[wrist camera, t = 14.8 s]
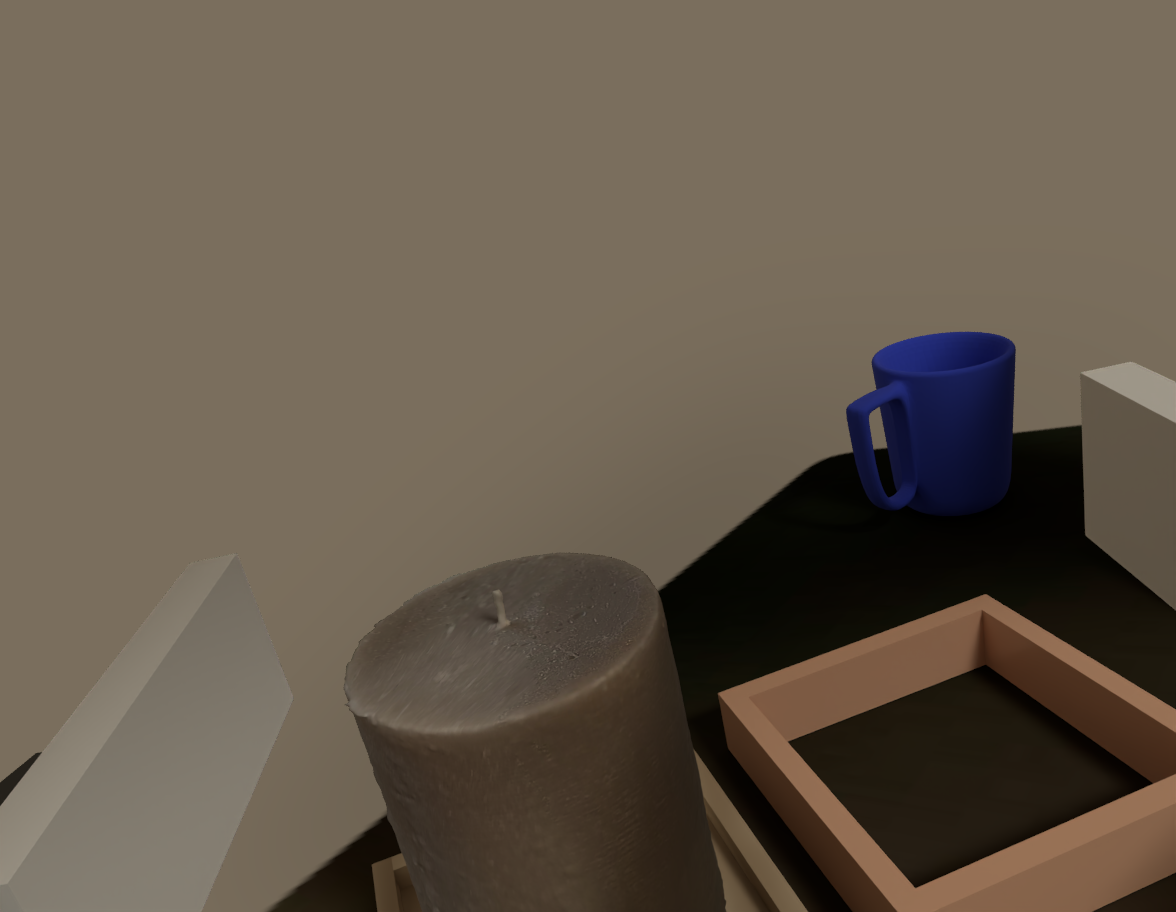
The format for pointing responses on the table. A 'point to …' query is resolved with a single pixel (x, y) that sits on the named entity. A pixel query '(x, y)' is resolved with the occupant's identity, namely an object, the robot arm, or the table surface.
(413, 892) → the tray
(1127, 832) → the holder
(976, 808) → the table surface
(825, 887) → the table surface
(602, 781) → the pillar candle
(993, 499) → the mug
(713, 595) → the table surface
